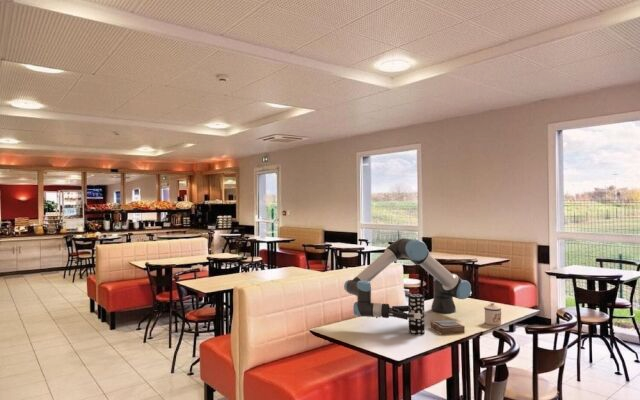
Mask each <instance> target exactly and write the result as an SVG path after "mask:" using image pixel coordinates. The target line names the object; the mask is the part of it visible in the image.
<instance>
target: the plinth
mask: <svg viewBox="0 0 640 400" xmlns="http://www.w3.org/2000/svg"><path fill="white" fill-rule="evenodd" d="M430 329H432V330H433V331H435V332H437V333H438V334H440V335H442V336H443V335H444V336H445V335H454V334H455V335H456V334H464V333H466V331H465V325H463V324H461V323H460V322H457V321H455V320H453V319H446V320H445V319H444V320H434V321H433V320H432V321H430Z"/></svg>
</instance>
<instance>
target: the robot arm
mask: <svg viewBox="0 0 640 400" xmlns="http://www.w3.org/2000/svg"><path fill="white" fill-rule="evenodd" d="M400 259H408V260H409V261H410V262H412V263H413V264H414V265H415V266H420V267H421V268H422V269H424V271H426V272H427V273H429V274H430V275H431V276H432V277H433V300H432V304H431V306H430V307H431V309H430V310H431V311H432V312H435V313H438V314H440V313H442V314H450V313H452V314H453V313H455V312H457V311H456V310H457V307H456V305H455V302H454V299H453V298H455V299H458V300H466V299H467V298H468V297H469V296H470V294H471V293H472V285H471V283H470V282H469V281H468V280H465V279H462V278H461V277H460V276H459V275H457V274H456V273H452V272H451V271H449V270H448V269H447V268H445V266H443V265H442V264H441V262H439V261H438V260H437V259H435V258H434V257H433V256H432V255H431V254H430V250H429V249H428V246H427V244H426V243H425V242H424V241H422V240H419V239H414V238H413V239H412V238H399V239H397V240H395V241H393V242H392V243H391V244H390V245H388V246H387V247H386V248H385V249H384V252H383V253H381V254H380V255H379V256H378V257H377V258H376V259H375V260H374V261H372V262H371V263H370V264H369V265H368V266H367V267H365V268H364V269H363V270H362V271H361V272H360V273H358V274H357V276H355V277H354V278H353V279H348V280H346V281H345V282H344V283H343V288H344V290H345V292H346V293H348V294H349V295H354V296H356V297H357V299H356V300H357V301H355V302H354V303H353V309H352V311H353V312H352V313H353V314H354V316H355V317H366V318H376V319H378V318H383V319H389V317H390V318H392V317H393V318H398V319H402V320H406V321H407V320H408V321H409V318H414V319H421V313H409V312H408V305H392V306H391V307H390V304H389V303H381V302H380V303H377V302H372V284H371V281H373V280H374V279H375V278H376V277H377V276H378V275H379V274H380V273H382V272H383V271H384V270H385V269H386V268H387V267H388V266H390V265H391V264H392V263H393V262H394V263H395V262H397V261H398V260H400Z"/></svg>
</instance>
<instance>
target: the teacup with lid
mask: <svg viewBox="0 0 640 400" xmlns="http://www.w3.org/2000/svg"><path fill="white" fill-rule="evenodd" d="M483 308H484V309H483V310H484V323H485V324H487V325H490V326H499V325H501V324H502V308H501V307H500V306H498V305H497V304H495V302H490V304H488V305H485V306H484V307H483Z"/></svg>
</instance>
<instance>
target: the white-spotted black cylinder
mask: <svg viewBox="0 0 640 400" xmlns="http://www.w3.org/2000/svg"><path fill="white" fill-rule="evenodd" d="M407 296H408V297H407V301H408V303H407V304H408V305H407V306H408V311H407V313H421V319H414V318H408V334H409V335H412V336H424V335H425V333H426V332H425V331H426V330H425V328H426V327H425V324H426V323H425V295H424V294H421V293H411V294H408V295H407Z"/></svg>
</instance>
